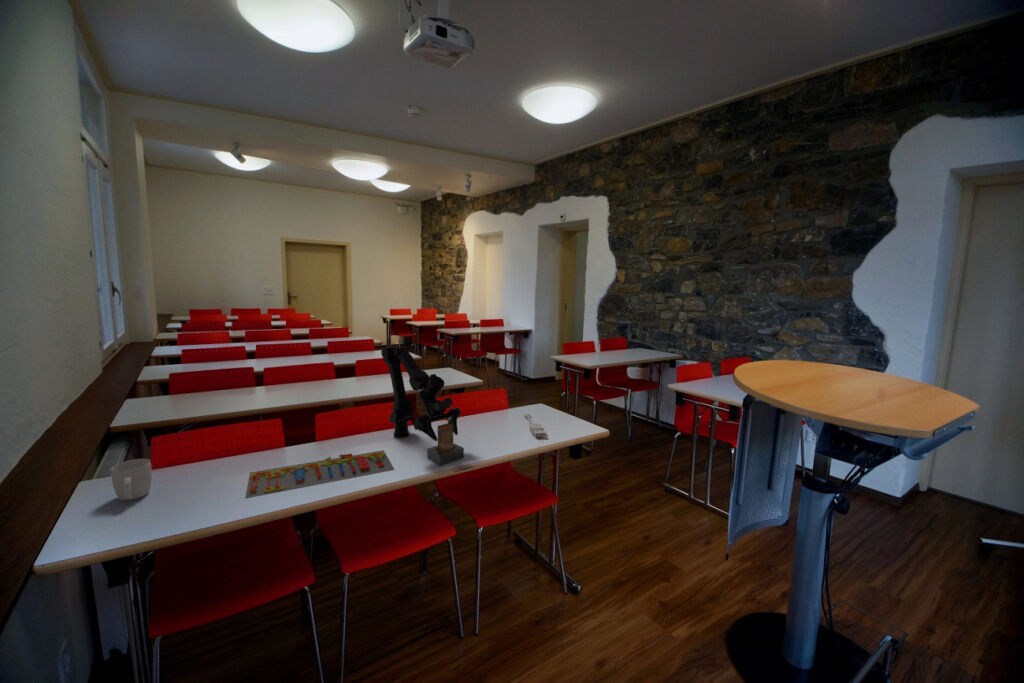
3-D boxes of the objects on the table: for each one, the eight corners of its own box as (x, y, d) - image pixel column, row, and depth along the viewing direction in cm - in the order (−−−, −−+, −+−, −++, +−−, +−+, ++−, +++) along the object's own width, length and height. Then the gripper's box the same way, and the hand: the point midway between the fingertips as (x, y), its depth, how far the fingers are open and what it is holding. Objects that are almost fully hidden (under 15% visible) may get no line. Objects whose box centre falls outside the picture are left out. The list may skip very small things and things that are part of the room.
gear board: (383, 445, 166) (394, 465, 149) (383, 451, 166) (394, 471, 150) (249, 467, 145) (244, 492, 128) (250, 474, 145) (245, 500, 129)
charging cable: (530, 417, 213) (531, 411, 213) (545, 438, 181) (546, 430, 181) (521, 417, 212) (521, 411, 212) (534, 438, 181) (534, 431, 180)
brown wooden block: (437, 459, 159) (437, 425, 157) (448, 455, 162) (448, 423, 161) (442, 461, 157) (442, 428, 155) (453, 457, 160) (453, 425, 158)
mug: (118, 493, 130) (114, 462, 129) (155, 486, 135) (152, 456, 134) (107, 512, 120) (103, 478, 118) (148, 503, 125) (145, 471, 123)
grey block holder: (427, 458, 159) (427, 448, 158) (450, 451, 166) (450, 441, 166) (440, 466, 153) (440, 455, 152) (463, 458, 160) (463, 448, 160)
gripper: (416, 395, 153) (434, 432, 146) (458, 387, 166) (476, 421, 159) (406, 411, 160) (422, 447, 153) (447, 402, 172) (463, 435, 166)
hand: (447, 437), depth 158 cm, fingers open, 9 cm apart
